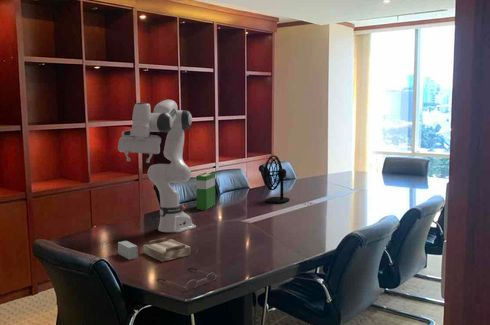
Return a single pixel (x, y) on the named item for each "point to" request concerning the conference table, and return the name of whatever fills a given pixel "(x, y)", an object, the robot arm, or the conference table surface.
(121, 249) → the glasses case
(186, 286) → the eyeglasses
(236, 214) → the conference table surface
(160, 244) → the display stand
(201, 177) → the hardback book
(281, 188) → the desk fan
